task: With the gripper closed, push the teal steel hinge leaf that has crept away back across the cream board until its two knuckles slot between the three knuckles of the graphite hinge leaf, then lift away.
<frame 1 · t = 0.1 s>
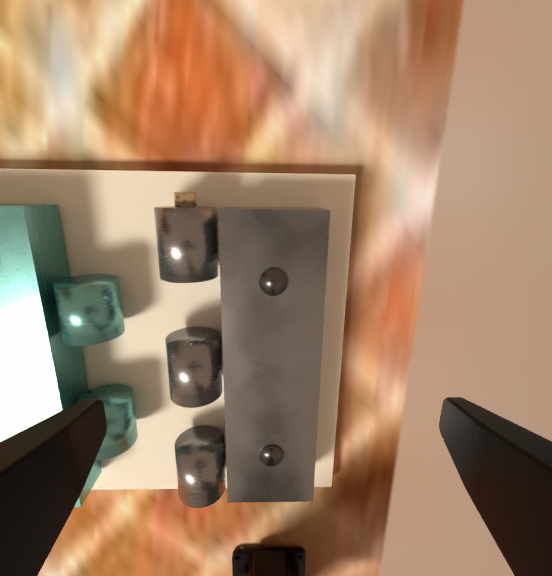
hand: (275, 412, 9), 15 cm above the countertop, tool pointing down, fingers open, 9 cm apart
graphite hinge leaf: (202, 346, 24), resting on cream base board
teal hinge leaf: (41, 366, 21), point 3 cm above the countertop, slide at 6.0 cm
cream base board: (161, 346, 24), on the countertop
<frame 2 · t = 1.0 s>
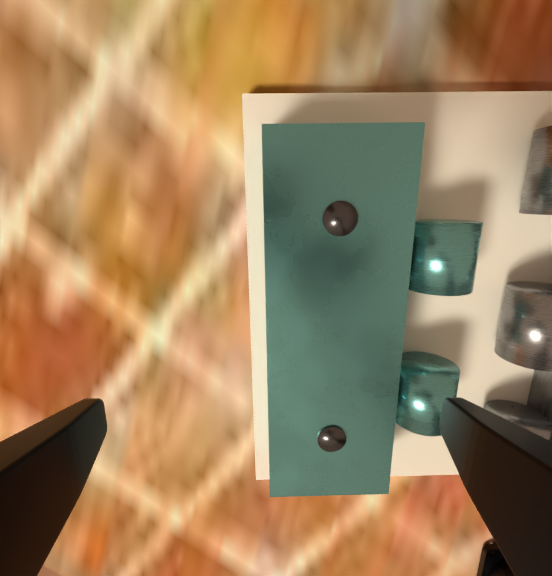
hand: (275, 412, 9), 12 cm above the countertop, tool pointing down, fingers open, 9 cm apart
graphite hinge leaf: (503, 307, 21), resting on cream base board
teal hinge leaf: (364, 328, 18), point 3 cm above the countertop, slide at 6.0 cm
cream base board: (456, 308, 21), on the countertop
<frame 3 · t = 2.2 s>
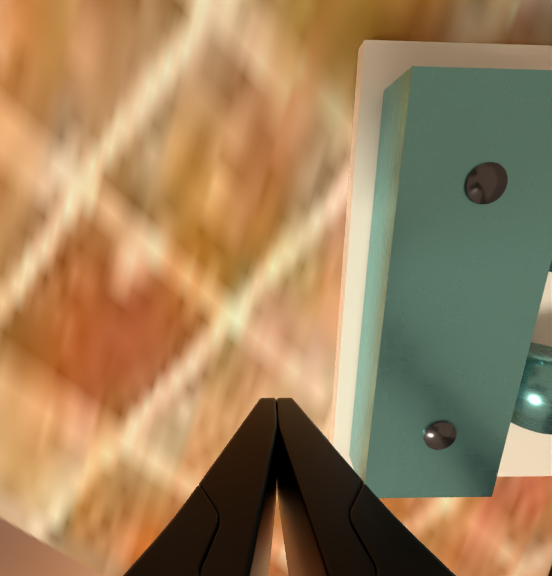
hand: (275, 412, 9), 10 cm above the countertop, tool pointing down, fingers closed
teal hinge leaf: (481, 313, 16), point 3 cm above the countertop, slide at 6.0 cm
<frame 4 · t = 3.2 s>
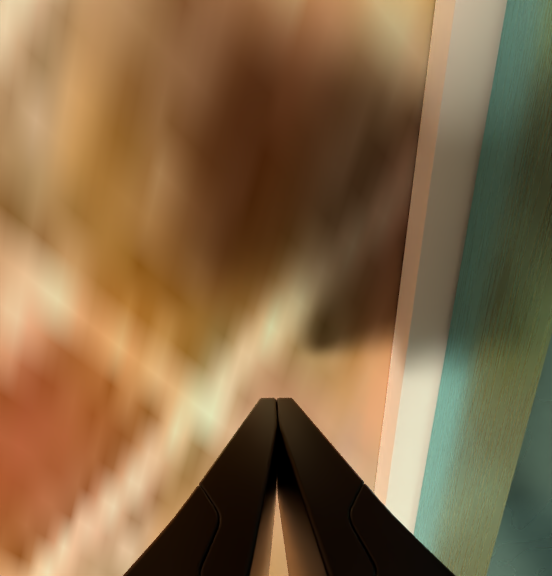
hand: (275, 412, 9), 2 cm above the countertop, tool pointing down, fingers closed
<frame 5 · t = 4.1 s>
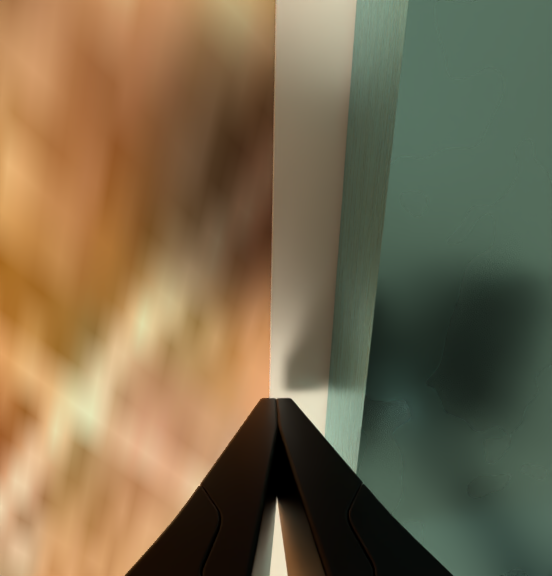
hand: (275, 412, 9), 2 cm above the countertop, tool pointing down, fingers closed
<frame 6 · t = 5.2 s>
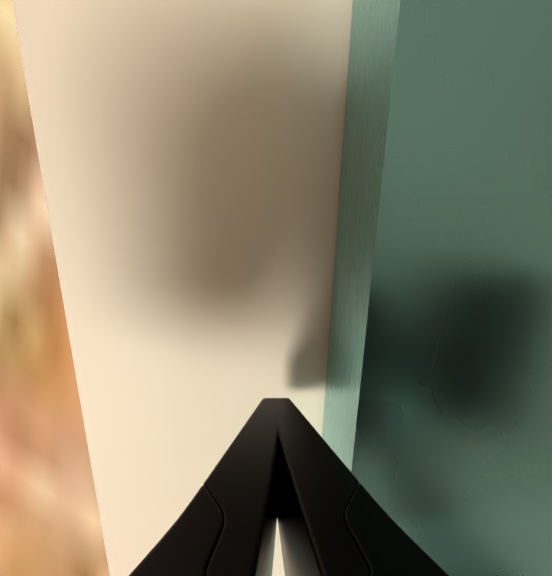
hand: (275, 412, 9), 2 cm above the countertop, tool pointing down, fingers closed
cream base board: (501, 371, 11), on the countertop
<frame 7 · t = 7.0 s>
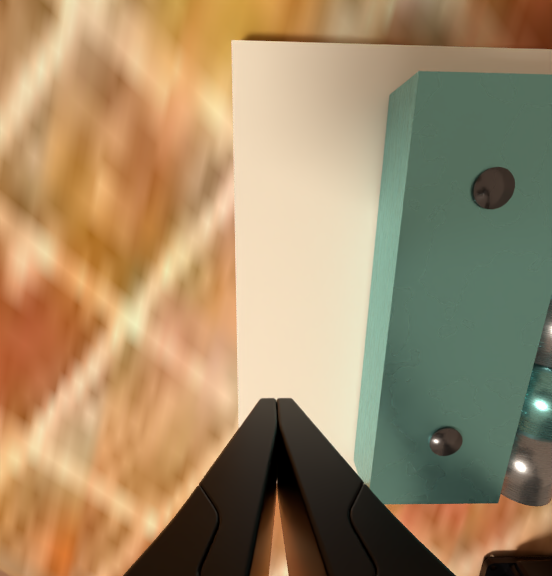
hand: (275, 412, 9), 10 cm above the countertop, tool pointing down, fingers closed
graphite hinge leaf: (517, 300, 19), resting on cream base board
teal hinge leaf: (488, 318, 16), point 3 cm above the countertop, slide at 0.0 cm
cream base board: (466, 300, 19), on the countertop
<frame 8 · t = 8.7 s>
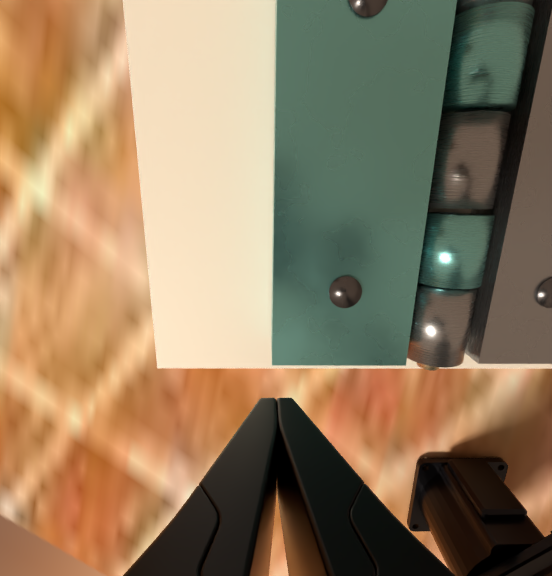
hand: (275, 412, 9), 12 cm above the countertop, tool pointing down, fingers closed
graphite hinge leaf: (432, 168, 19), resting on cream base board
teal hinge leaf: (386, 163, 16), point 3 cm above the countertop, slide at 0.0 cm
cream base board: (379, 167, 18), on the countertop
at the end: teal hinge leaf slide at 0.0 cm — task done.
